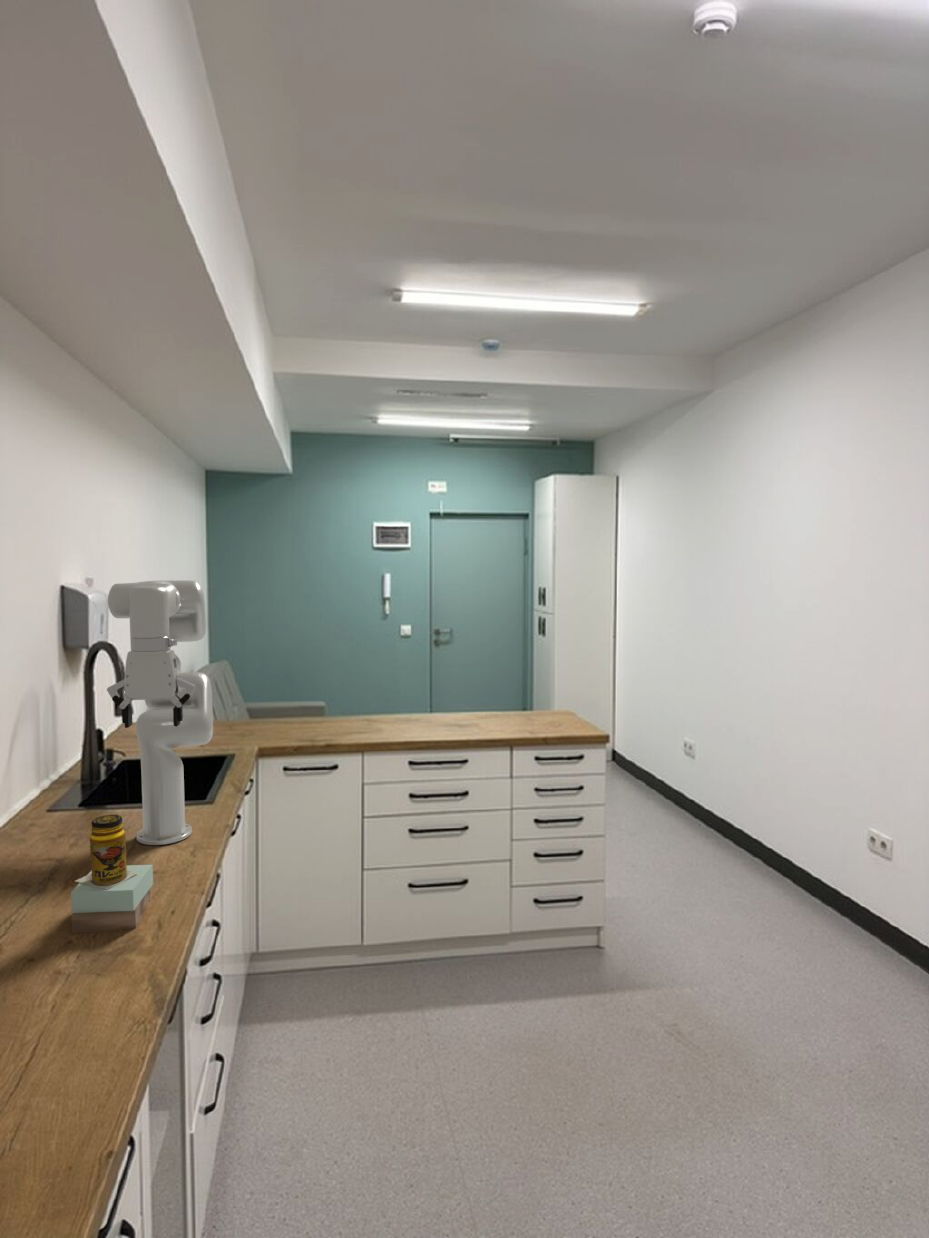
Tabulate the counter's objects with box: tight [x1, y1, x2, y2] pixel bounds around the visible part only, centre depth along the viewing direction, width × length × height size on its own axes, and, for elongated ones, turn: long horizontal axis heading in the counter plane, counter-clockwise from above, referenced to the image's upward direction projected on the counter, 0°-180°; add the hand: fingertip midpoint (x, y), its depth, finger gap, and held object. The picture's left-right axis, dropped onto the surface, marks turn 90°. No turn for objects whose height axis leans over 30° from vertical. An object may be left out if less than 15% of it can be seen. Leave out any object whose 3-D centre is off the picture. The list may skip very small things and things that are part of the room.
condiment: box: [75, 813, 138, 889], centre depth 139 cm, size 7×8×12 cm
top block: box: [70, 864, 154, 914], centre depth 140 cm, size 11×11×4 cm
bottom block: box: [71, 888, 151, 934], centre depth 140 cm, size 11×11×4 cm
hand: (153, 725), depth 153 cm, fingers open, 9 cm apart
